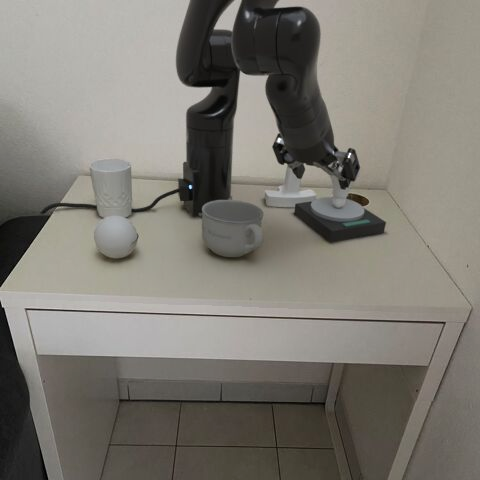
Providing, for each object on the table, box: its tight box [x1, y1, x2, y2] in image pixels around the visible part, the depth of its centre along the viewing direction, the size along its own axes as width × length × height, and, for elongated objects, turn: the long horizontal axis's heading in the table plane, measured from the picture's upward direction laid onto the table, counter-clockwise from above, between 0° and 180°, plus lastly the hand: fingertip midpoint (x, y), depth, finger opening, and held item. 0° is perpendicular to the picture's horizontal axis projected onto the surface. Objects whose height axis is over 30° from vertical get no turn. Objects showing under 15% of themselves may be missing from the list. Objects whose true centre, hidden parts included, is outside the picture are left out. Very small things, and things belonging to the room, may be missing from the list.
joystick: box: [263, 164, 317, 208], centre depth 106 cm, size 11×8×20 cm
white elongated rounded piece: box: [93, 215, 139, 259], centre depth 86 cm, size 10×7×7 cm
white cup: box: [88, 157, 133, 219], centre depth 98 cm, size 8×8×10 cm
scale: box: [293, 196, 387, 243], centre depth 102 cm, size 13×14×3 cm
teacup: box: [201, 199, 264, 258], centre depth 87 cm, size 14×11×8 cm
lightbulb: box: [329, 159, 362, 208], centre depth 98 cm, size 6×6×11 cm
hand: (322, 179), depth 88 cm, fingers open, 8 cm apart
